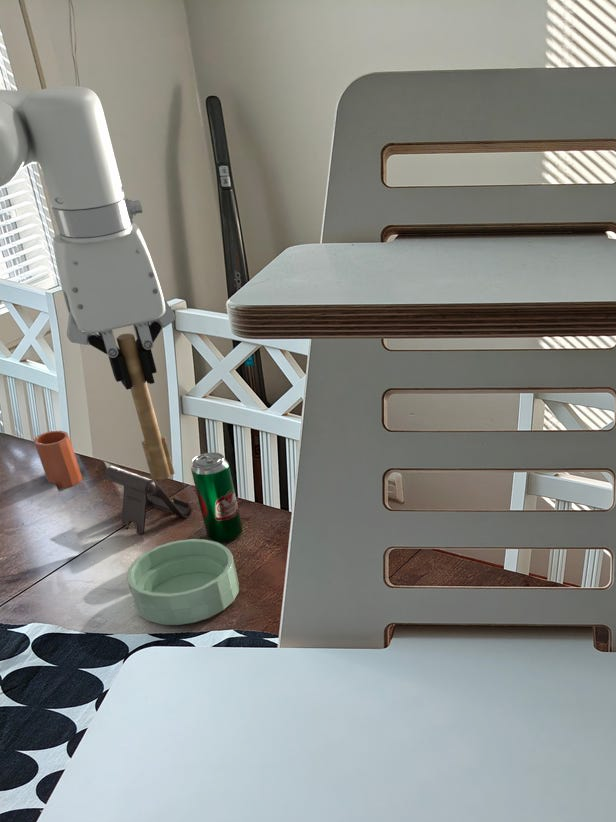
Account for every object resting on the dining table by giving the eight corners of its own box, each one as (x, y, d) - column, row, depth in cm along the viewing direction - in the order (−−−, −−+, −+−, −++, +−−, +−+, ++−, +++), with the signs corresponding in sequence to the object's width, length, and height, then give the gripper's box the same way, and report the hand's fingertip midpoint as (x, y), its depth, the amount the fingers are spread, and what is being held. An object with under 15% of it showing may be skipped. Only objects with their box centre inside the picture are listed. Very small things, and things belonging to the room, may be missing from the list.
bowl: (151, 640, 121) (140, 608, 118) (126, 589, 130) (116, 557, 127) (253, 607, 126) (246, 575, 123) (222, 560, 135) (215, 529, 132)
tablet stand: (193, 515, 145) (181, 464, 140) (153, 539, 140) (138, 487, 135) (153, 500, 149) (139, 450, 144) (112, 523, 144) (96, 472, 139)
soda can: (226, 547, 138) (208, 471, 130) (200, 538, 140) (181, 463, 133) (250, 531, 141) (234, 455, 134) (224, 522, 143) (208, 447, 136)
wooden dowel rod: (154, 481, 123) (114, 341, 112) (150, 475, 124) (110, 336, 113) (176, 475, 124) (139, 336, 113) (171, 469, 125) (135, 331, 114)
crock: (53, 495, 152) (36, 448, 147) (47, 481, 156) (31, 435, 151) (85, 486, 154) (70, 439, 149) (79, 473, 157) (64, 427, 153)
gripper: (157, 200, 110) (193, 357, 122) (10, 225, 105) (63, 388, 116) (175, 214, 105) (212, 377, 116) (22, 241, 99) (76, 410, 111)
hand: (137, 381), depth 116 cm, fingers closed on wooden dowel rod, 2 cm apart
